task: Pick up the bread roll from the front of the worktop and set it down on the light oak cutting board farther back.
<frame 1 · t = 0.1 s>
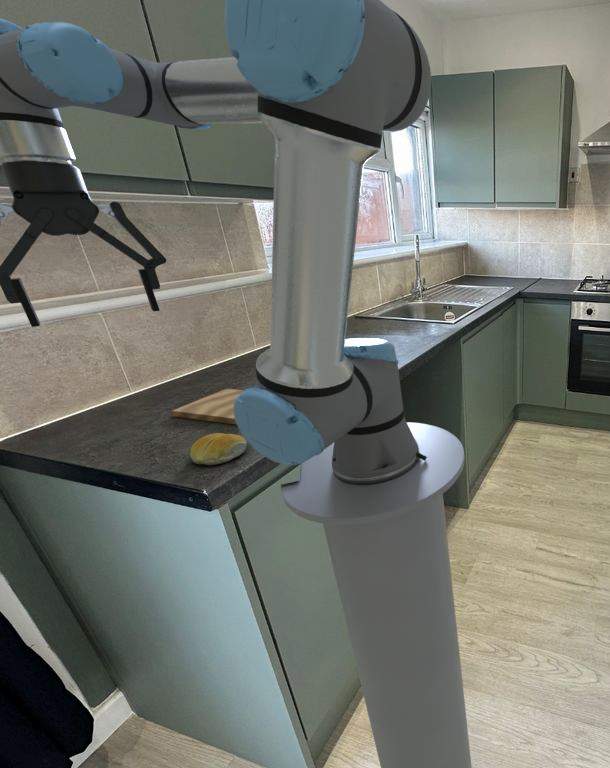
hand: (100, 317, 64), 28 cm above the worktop, tool pointing down, fingers open, 13 cm apart
cutting board: (234, 408, 99), on the worktop
bread roll: (221, 455, 79), on the worktop
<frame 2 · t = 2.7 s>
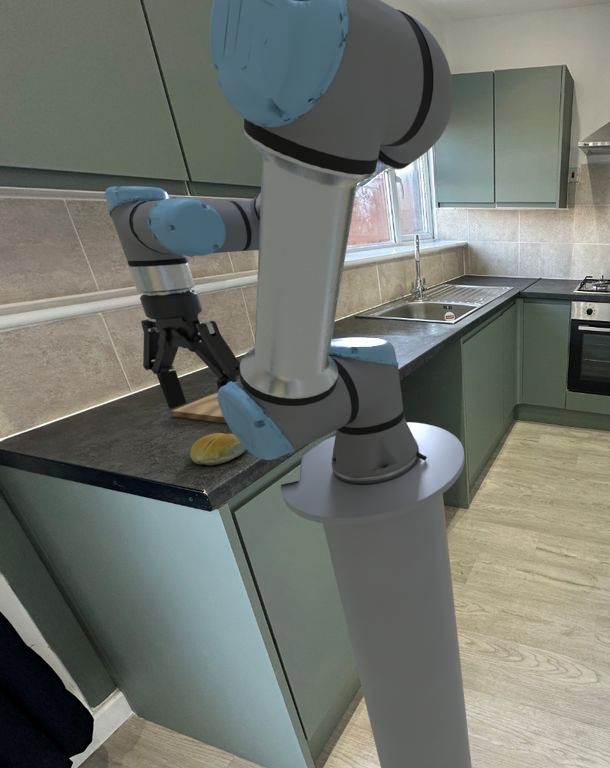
hand: (205, 409, 75), 9 cm above the worktop, tool pointing down, fingers open, 13 cm apart
nothing on the worktop moved.
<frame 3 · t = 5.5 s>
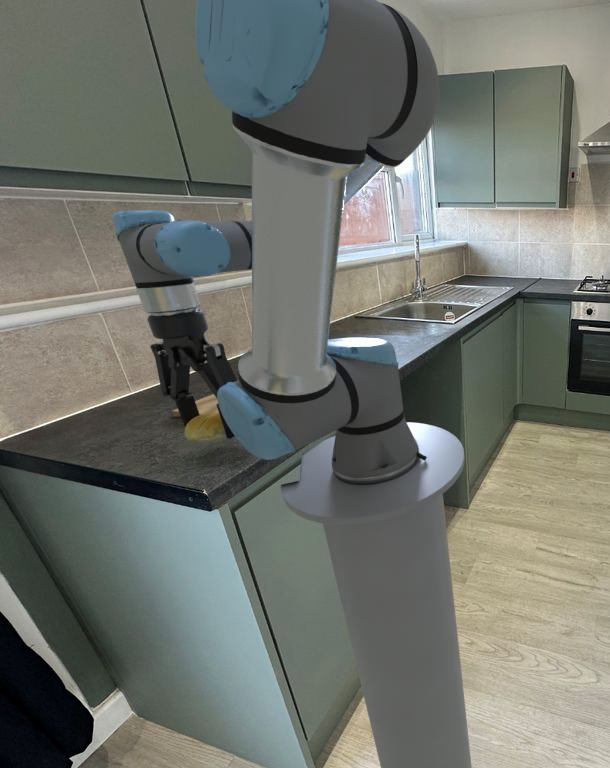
hand: (215, 432, 77), 5 cm above the worktop, tool pointing down, fingers closed on bread roll, 9 cm apart
bread roll: (217, 435, 77), point 4 cm above the worktop, touching gripper
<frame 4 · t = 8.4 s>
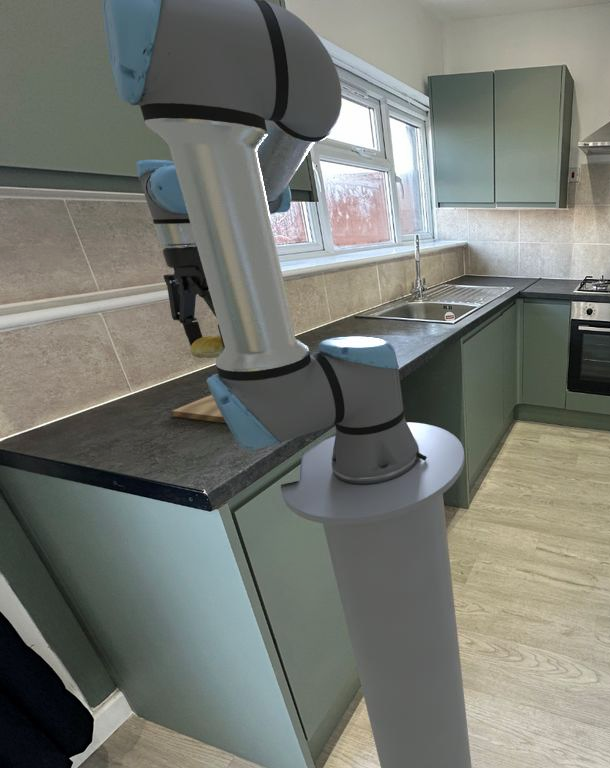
hand: (215, 352, 93), 14 cm above the worktop, tool pointing down, fingers closed on bread roll, 9 cm apart
bread roll: (217, 354, 93), point 14 cm above the worktop, touching gripper
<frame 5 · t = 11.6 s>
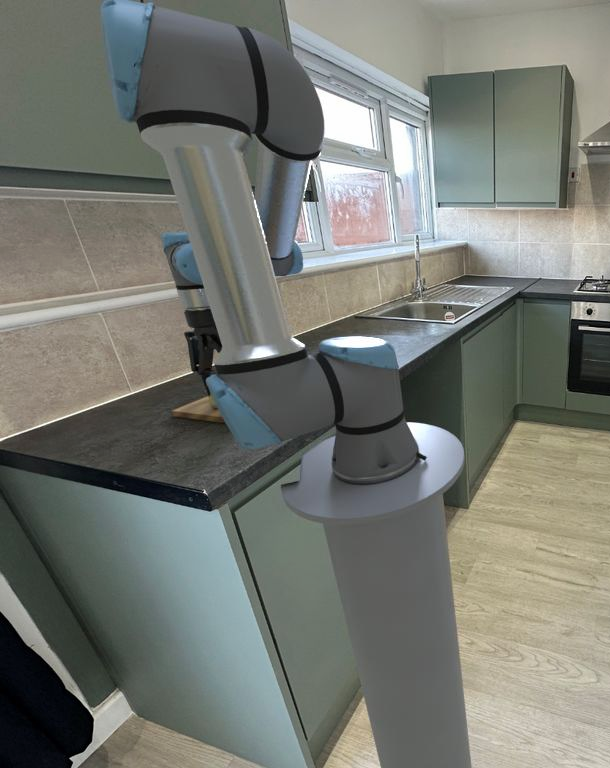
hand: (232, 401, 99), 2 cm above the worktop, tool pointing down, fingers closed on bread roll, 9 cm apart
bread roll: (233, 403, 99), point 1 cm above the worktop, touching cutting board, gripper
when the fingers open (2 cm above the worktop, at t = 11.8 s): bread roll stays where it is, resting on cutting board.
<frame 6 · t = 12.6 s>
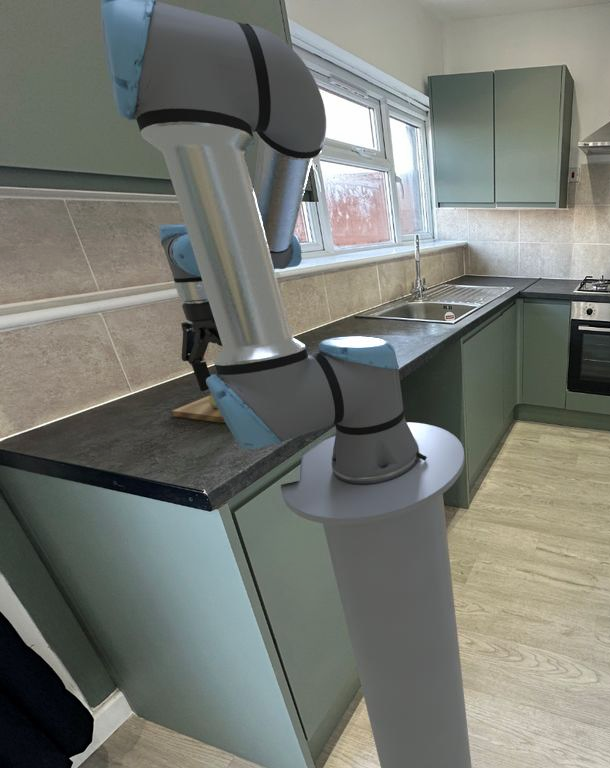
hand: (229, 391, 98), 4 cm above the worktop, tool pointing down, fingers open, 13 cm apart
bread roll: (233, 403, 99), point 1 cm above the worktop, touching cutting board
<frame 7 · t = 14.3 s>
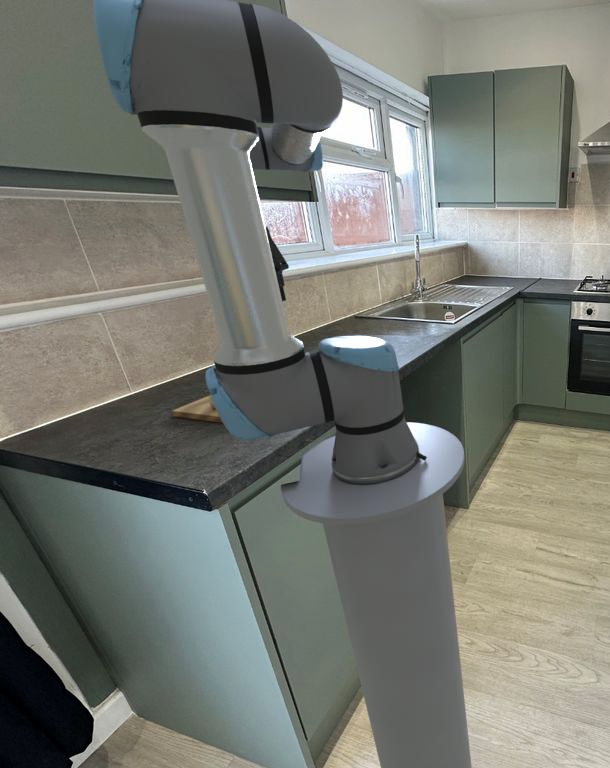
hand: (257, 301, 99), 24 cm above the worktop, tool pointing down, fingers open, 13 cm apart
nothing on the worktop moved.
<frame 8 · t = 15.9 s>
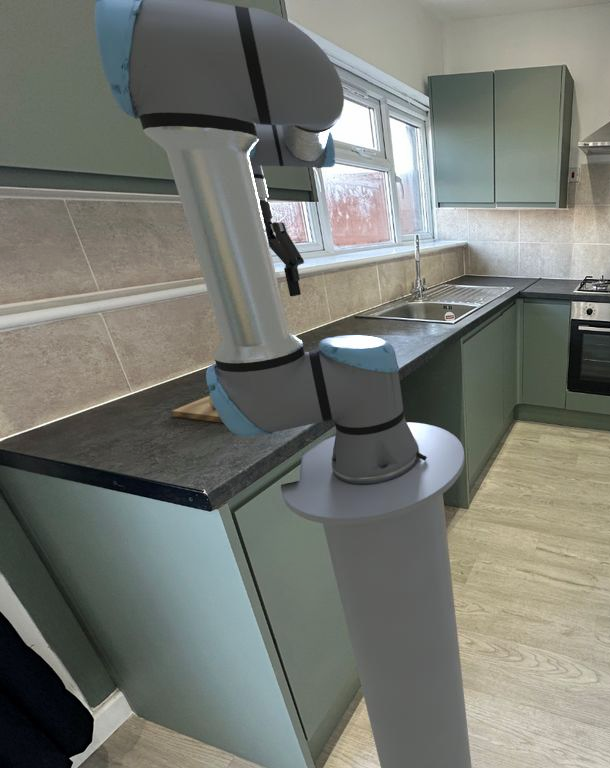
hand: (272, 295, 102), 25 cm above the worktop, tool pointing down, fingers open, 13 cm apart
nothing on the worktop moved.
at the end: bread roll inside the target area on the cutting board (0.2 cm from its centre), point 1.3 cm above the cutting board's base; the gripper is holding nothing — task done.
